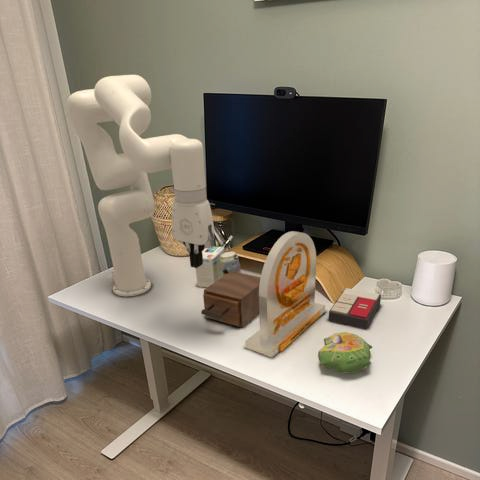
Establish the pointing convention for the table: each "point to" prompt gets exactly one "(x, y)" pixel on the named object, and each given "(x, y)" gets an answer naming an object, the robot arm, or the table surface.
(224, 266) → the beverage can
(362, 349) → the educational model
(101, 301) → the table surface
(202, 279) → the light bulb box
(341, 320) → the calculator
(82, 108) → the robot arm
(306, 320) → the award
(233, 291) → the cabinet
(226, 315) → the drawer
